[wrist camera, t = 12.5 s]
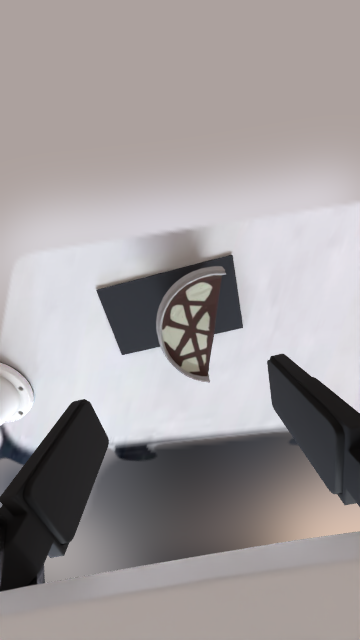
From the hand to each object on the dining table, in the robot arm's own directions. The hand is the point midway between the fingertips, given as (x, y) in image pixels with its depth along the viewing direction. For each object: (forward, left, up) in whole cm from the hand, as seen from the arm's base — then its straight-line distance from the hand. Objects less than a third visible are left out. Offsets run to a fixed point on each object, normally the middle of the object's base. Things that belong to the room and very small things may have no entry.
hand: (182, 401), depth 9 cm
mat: (-1, 0, -19) cm, 19 cm away
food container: (+1, 0, -19) cm, 19 cm away
